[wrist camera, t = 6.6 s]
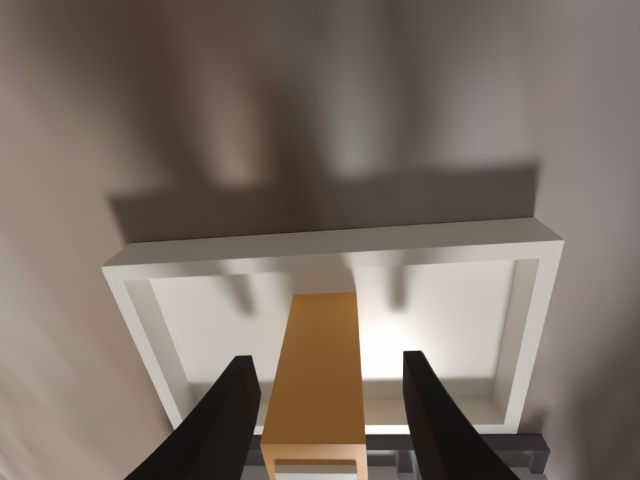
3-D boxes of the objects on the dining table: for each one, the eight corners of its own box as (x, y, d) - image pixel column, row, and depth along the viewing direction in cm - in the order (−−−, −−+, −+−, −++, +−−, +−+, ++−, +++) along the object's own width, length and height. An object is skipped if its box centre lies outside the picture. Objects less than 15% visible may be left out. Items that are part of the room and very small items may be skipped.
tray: (534, 217, 12) (564, 240, 10) (499, 397, 16) (516, 433, 14) (129, 243, 13) (100, 266, 12) (191, 401, 17) (176, 434, 16)
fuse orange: (361, 366, 15) (371, 541, 9) (305, 367, 15) (283, 539, 10) (356, 292, 13) (366, 453, 8) (293, 294, 13) (257, 453, 8)
